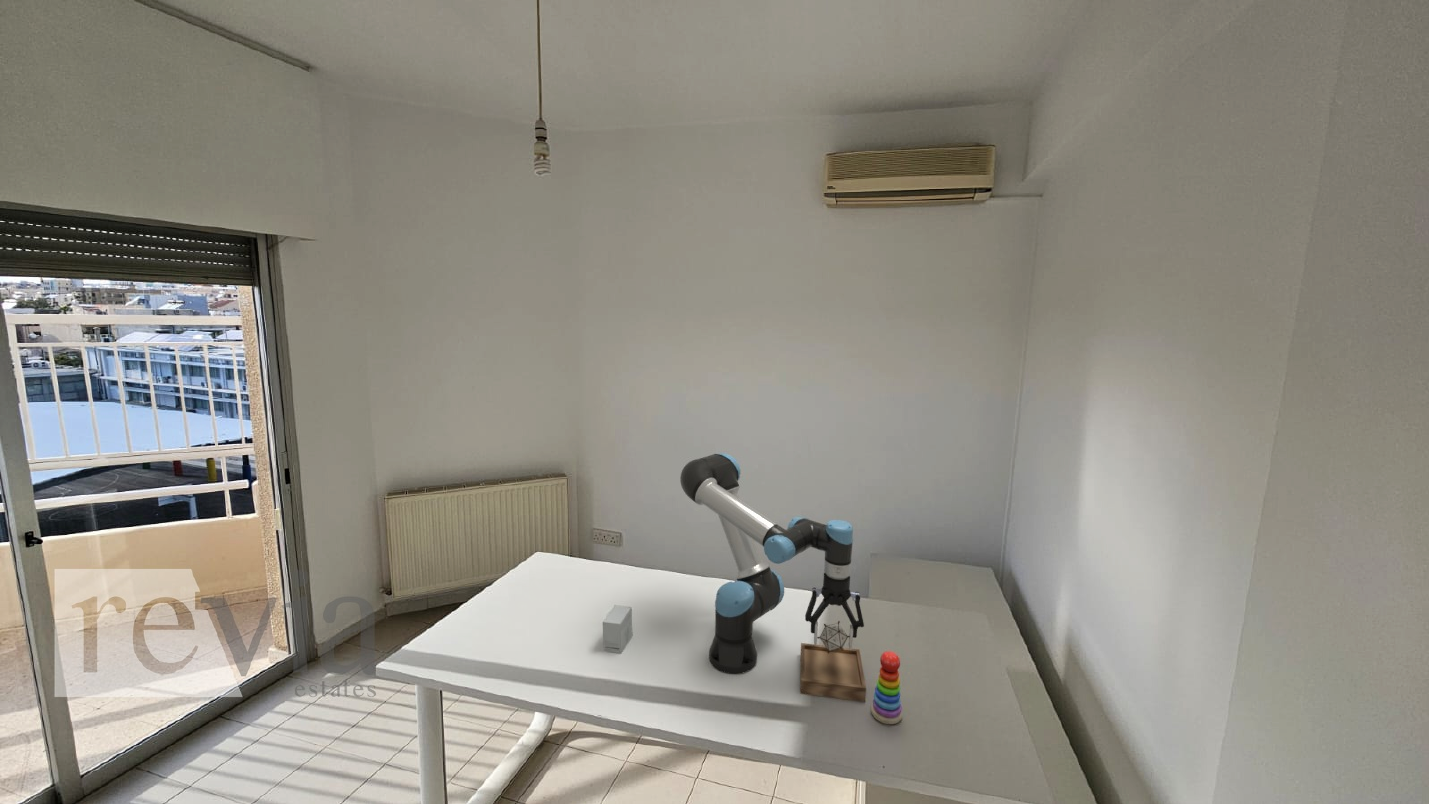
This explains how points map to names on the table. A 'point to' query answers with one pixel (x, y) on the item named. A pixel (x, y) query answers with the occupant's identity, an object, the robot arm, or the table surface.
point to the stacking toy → (888, 691)
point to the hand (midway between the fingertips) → (832, 644)
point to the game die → (833, 637)
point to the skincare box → (617, 629)
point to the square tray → (832, 673)
